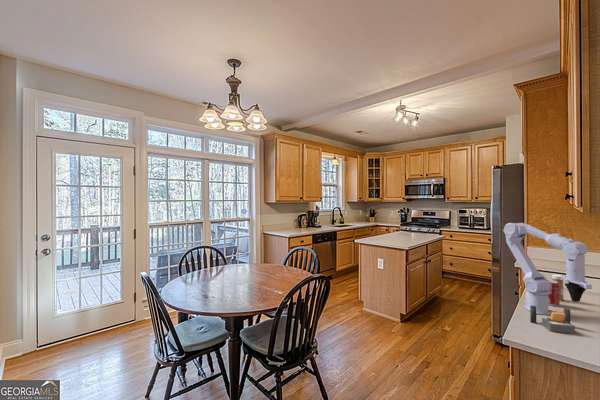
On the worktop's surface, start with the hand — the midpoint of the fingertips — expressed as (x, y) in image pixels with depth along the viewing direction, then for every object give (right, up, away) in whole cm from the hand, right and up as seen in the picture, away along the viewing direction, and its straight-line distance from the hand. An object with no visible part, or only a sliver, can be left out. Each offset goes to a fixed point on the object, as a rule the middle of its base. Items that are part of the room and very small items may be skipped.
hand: (575, 301), depth 119 cm
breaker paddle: (-13, -7, -5) cm, 15 cm away
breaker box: (-13, -10, -6) cm, 17 cm away
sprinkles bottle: (+22, -11, +31) cm, 39 cm away
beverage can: (+11, -11, +24) cm, 28 cm away
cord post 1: (-17, -10, +1) cm, 20 cm away
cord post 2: (-6, -10, -2) cm, 12 cm away
